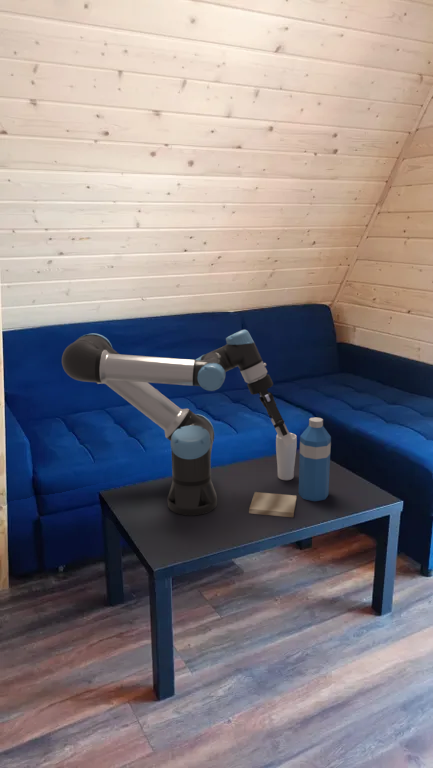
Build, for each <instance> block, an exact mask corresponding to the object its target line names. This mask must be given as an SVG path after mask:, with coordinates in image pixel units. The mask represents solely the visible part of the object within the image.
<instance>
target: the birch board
mask: <svg viewBox="0 0 433 768" xmlns="http://www.w3.org/2000/svg"><path fill="white" fill-rule="evenodd" d="M297 497H298V496H297V495H295V494H294V495H291V494H283V493H282V494H281V493H271V492H270V493H269V492H261V491H260V492H259V491H258V492H257V491H254V494H253V497H252V500H251V503H250V505H249V509H248V513H249V514H252V515H253V514H254V515H264V516H272V517H273V516H275V517H284V518H294V517H295V515H294V514H295V511H296V510H295V509H296V504H297V500H298V499H297Z"/></svg>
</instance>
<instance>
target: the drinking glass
mask: <svg viewBox="0 0 433 768" xmlns="http://www.w3.org/2000/svg"><path fill="white" fill-rule="evenodd" d="M289 434H290V436H291V438H292V440H293V442H294V443H292V444H289V445H287V446H285V444H284V442H283V440H282V438H281V437H279V436H278V434H276V436H275V437H276V438H275V451H276V452H275V453H276V463H277V464H276V466H277V478H278V479H279V480H282V481H290V480H292V479H294V476H295V475H294V473H295V464H296V455H297V443H298V441H297V440H298V439H297V435H296V434H295V433H292V432H289Z"/></svg>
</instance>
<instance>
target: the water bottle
mask: <svg viewBox="0 0 433 768" xmlns="http://www.w3.org/2000/svg"><path fill="white" fill-rule="evenodd" d="M331 446H332V436H331V435H330V433H329V432H328V431H327V429H326V428H325V426H324V419H323V418H322V417H310V418H309V419H308V426H307V427H306V428H305V430H303V432H302V433H301V435H300V436H299V460H298V461H299V463H298V464H299V466H298V469H299V470H298V495H299V496H300V497H301V498H302V499H303V500H307V501H311V502H319V501H325V500H326V499H327V498H328V496H329V493H330V492H329V491H330V472H331V471H330V469H331Z"/></svg>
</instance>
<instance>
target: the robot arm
mask: <svg viewBox="0 0 433 768" xmlns="http://www.w3.org/2000/svg"><path fill="white" fill-rule="evenodd" d="M225 341H226V343H225V345H223V346H222V347H219V348H217V349H213V350H212V351H210V352H207V353H206V354H202V355H201V356H199V357H198V358H196V359H188V358H173V357H164V356H163V357H162V356H160V357H159V356H147V355H146V356H145V355H135V354H134V355H133V354H120V353H119V352H118V351H116V349H114V348H113V345H112V343H111V342H110V340H109V339H108V338H107V337H105V336H104V335H102V334H99V333H93V332H92V333H88V334H87V333H86V334H83V335H82V336H80V337H78V338H77V339H76V340H75V341H74V342H72V343H70V344H68V345H67V346H66V348H65V349H64V350H63V353H62V356H61V365H62V368H63V370H64V372H65V374H67V376H69V377H70V378H72V379H73V380H75V381H80V382H84V383H85V382H87V383H96V384H97V385H99V384H101V385H103V384H104V385H106V386H107V387H109V388H110V389H111V390H112V391H114V392H115V393H116V394H117V395H119V396H120V397H122V398H123V399H124V400H125V401H127V402H128V403H129V405H132V406H133V407H134V408H135V409H137V410H138V411H139V412H141V413H142V414H143V415H144V416H146V417H147V418H148V419H150V420H151V421H152V422H153V423H155V424H156V425H157V426H158V427H160V428H161V429H162V430H164V435H165V436H164V437H165V438H166V439H167V440H168V441H170V449H171V470H172V471H171V473H172V475H171V476H172V482H171V486H170V488H169V491H168V492H169V493H168V495H167V507H168V509H169V510H170V511H172V512H173V513H175V514H178V515H183V516H200V515H204V514H207V513H210V512H211V511H213V510H214V509H215V508H216V507H217V506H218V505H217V504H218V497H217V496H218V495H217V492H216V490H215V487H214V484H213V481H212V469H211V467H212V464H211V463H212V461H211V459H212V451H213V450H212V449H213V444H214V441H215V430H214V426H213V424H212V422H211V420H210V419H209V418H207V417H206V416H204V415H202V414H199V413H194V412H193V411H192V410H191V409H189V408H181V407H179V406H178V405H176V404H175V403H174V402H173V401H171V400H170V399H169V398H168V397H167V396H165V395H164V394H162V393H161V392H160V391H159V390H158V389H157V388H155V387H154V386H153V385H152V384H164V385H179V386H190V387H191V386H193V387H194V386H195V387H201V388H202V389H203V390H206V391H208V392H215V391H217V390H219V389H220V388H221V387H222V386H223V384H224V383H225V379H226V372H229V371H230V370H233V369H235V368H237V367H238V369H239V371H240V372H239V373H241V376H242V378H243V379H244V380H243V381H244V382H245V383H247V384H246V385H247V387H248V390H249V392H250V394H251V395H257V394H258V395H259V400H260V402H261V403H262V406H263V407H264V408H265V409H266V412H267V415H268V416H269V418H270V421H271V423H272V426H273V427H274V429H275V431H276V433H277V434H278V436H279V437H281V438H282V440H283V442H284V444H285V446H287V445H289V444H292V443H294V442H293V440H292V438H291V436H290V434H289V433H290V432H289V430H288V428H287V425H286V424H285V419H283V416H282V415H281V413H280V411H279V408H278V407H277V403H276V401H275V398H274V395H273V393H272V392H270V391H268V390H269V389H270V388H271V387H273V386H274V382H273V380H272V378H271V376H270V374H268V370H267V367H266V366H267V363H266V362H264V361H263V358H262V357H261V353H260V352H259V349H258V347H257V346H256V343H255V341H254V340H253V338H252V336H251V333H250V332H249V331H248V330H247V329H241V330H239V331H237V332H235V333H232V334H231V335H229V336H227V337H225ZM277 434H276V435H277Z"/></svg>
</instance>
